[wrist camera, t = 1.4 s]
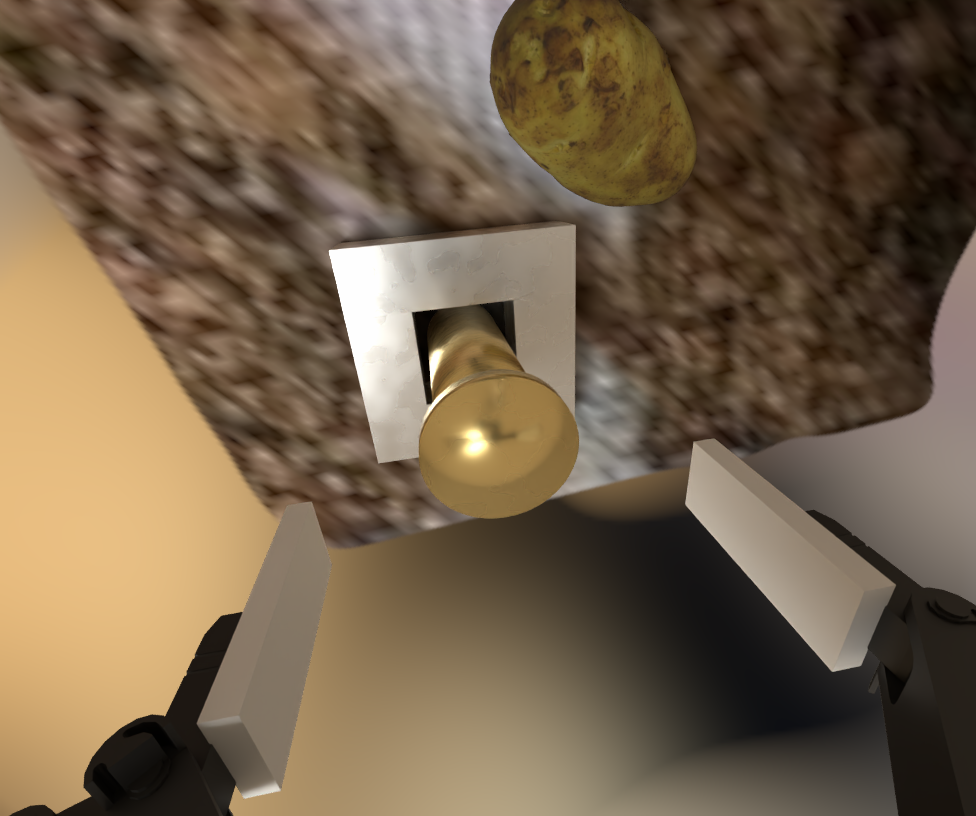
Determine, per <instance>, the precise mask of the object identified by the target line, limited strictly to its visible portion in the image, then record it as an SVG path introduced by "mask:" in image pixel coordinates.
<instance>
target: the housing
mask: <svg viewBox="0 0 976 816" xmlns="http://www.w3.org/2000/svg"><path fill="white" fill-rule="evenodd" d="M329 252H330V256H331V261H332V265H333V269H334V274H335V278H336V282H337V287H338V291H339V295H340V300H341V304H342V308H343V313H344V317H345V321H346V325H347V330H348V334H349V338H350V343H351V347H352V351H353V356H354V360H355V364H356V369H357V373H358V377H359V381H360V386H361V390H362V394H363V399H364V403H365V407H366V412H367V416H368V420H369V425H370V429H371V433H372V438H373V442H374V446H375V450H376V455H377V459H378V463H383V462H390V461H397V460H403V459H410V458H417V457H419V432H420V427H421V424H422V421H423V418H424V416H425V414H426V412H427V410H428V409H429V407H430V406H431V404H432V403H433V401H432V389H431V381H427V382H425V376H424V369H423V363H422V357H421V351H420V344H419V338H418V332H417V326H416V319H415V313H414V312H417V311H425V310H434V309H442V308H451V307H459V306H467V305H476V304H484V303H493V302H501V301H503V307H504V322H505V337H506V341H507V343H508V344H509V346H510V348H511V349H512V351H513V353H514V354H515V356H516V357H517V359H518V361H519V362H520V364H521V366H522V367H523V369H524V371H525V372H526V373H529V374H532V375H534V376H536V377H538V378H540V379H542V380H543V381H545V382H546V383H547V384H549V385H550V386H551V387H552V388H553V389H554V390H555V391H556V392H557V393H558V394H559V396H560V397H561V398H562V400H563V401H564V402H565V404H566V405H567V407H568V408H569V410H570V411H571V413H572V415H573V417H574V419H575V277H576V225H574V224H569V223H565V222H560V221H548V222H539V223H529V224H519V225H509V226H500V227H490V228H480V229H470V230H461V231H451V232H441V233H432V234H422V235H412V236H402V237H393V238H383V239H373V240H363V241H354V242H344V243H339V244H338V245H336V246H335V247H333V248H332V249H331V250H329Z"/></svg>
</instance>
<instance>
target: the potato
mask: <svg viewBox="0 0 976 816" xmlns="http://www.w3.org/2000/svg"><path fill="white" fill-rule="evenodd" d="M670 68H671V65H670V63H669V58H668V54H666V50H665V49H663V48H661V47H660V44H659V42H658V41H657V39H656V37H655V36H654V35H653V33H652V32H651V31H650V30H649V29H648V28H647V27H646V26H645V25H644V24H643V23H642V22H641V21H640V20H639V19H638V18H637V17H636V16H634V15H633V14H632V13H630V12H629V11H627V10H625V9H624V8H623V7H622V5H621V4H620V2H619V1H618V0H515V1H514V2H513V4H512V5H511V6H510V8H509V9H508V11H507V12H506V13H505V15H504V16H503V18H502V20H501V22H500V24H499V26H498V29H497V31H496V33H495V37H494V40H493V45H492V50H491V73H490V84H491V88H492V91H493V95H494V99H495V103H496V106H497V109H498V112H499V114H500V117H501V119H502V121H503V123H504V125H505V127H506V128H507V130H508V132H509V135H510V136H511V137H513V139H514V140H515V141H516V142H517V143H518V144H519V145H520V147H521V148H522V149H523V150H524V151H525V152H526V153H527V154H528V155H529V156H530V157H531V158H532V159H533V160H534V161H535V162H536V163H537V164H538V165H539V166H540V167H542V168H543V169H544V170H546V171H547V172H548V173H550V174H551V175H552V176H553V177H554V178H555V179H556V180H557V181H558V182H559V183H560V184H561V185H562V186H564V187H565V188H567V189H568V190H570V191H572V192H573V193H575V194H577V195H579V196H581V197H583V198H585V199H588V200H590V201H593V202H596V203H599V204H603V205H607V206H617V207H623V206H636V205H647V204H653V203H658V202H661V201H664V200H667V199H669V198H670V197H672V196H673V195H675V194H676V193H677V192H678V191H679V190H680V189H681V188H682V187H683V186H684V185H685V183H686V181H687V180H688V178H689V176H690V174H691V172H692V170H693V168H694V165H695V161H696V156H697V140H696V134H695V130H694V126H693V123H692V120H691V117H690V115H689V112H688V109H687V107H686V104H685V102H684V100H683V97H682V95H681V93H680V90H679V88H678V86H677V83H676V81H675V79H674V76H673V74H672V72H671V69H670Z"/></svg>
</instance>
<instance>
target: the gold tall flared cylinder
mask: <svg viewBox="0 0 976 816" xmlns="http://www.w3.org/2000/svg"><path fill="white" fill-rule="evenodd" d="M427 340H428V352H429V365H430V377H431V389H432V401H433V403H432V404H431V406H430V407H429V409H428V410H427V412H426V414H425V416H424V418H423V421H422V424H421V427H420V432H419V465H420V469H421V473H422V476H423V478H424V481H425V483H426V485H427V486H428V488H429V489H430V491H431V492H432V493H433V494H434V495H435V497H436V498H437V499H439V500H440V501H441V502H442V503H443V504H445V505H446V506H448V507H449V508H451V509H453V510H455V511H457V512H460V513H462V514H465V515H469V516H473V517H479V518H502V517H508V516H513V515H517V514H520V513H523V512H526V511H528V510H530V509H533V508H535V507H536V506H538V505H540V504H542V503H543V502H544V501H546V500H547V499H549V498H550V497H551V496H552V495H553V494H554V493H556V492H557V491H558V490H559V488H560V487H561V486H562V485H563V484H564V482H565V481H566V480H567V478H568V477H569V475H570V473H571V471H572V469H573V467H574V464H575V462H576V459H577V454H578V448H579V435H578V429H577V425H576V422H575V419H574V417H573V415H572V413H571V411H570V410H569V408H568V407H567V405H566V404H565V402H564V401H563V400H562V398H561V397H560V396H559V394H558V393H557V392H556V391H555V390H554V389H553V388H552V387H551V386H550V385H549V384H547V383H546V382H545V381H543V380H542V379H540V378H538V377H536V376H534V375H532V374H529V373H526V372H525V371H524V369H523V367H522V366H521V364H520V362H519V361H518V359H517V357H516V356H515V354H514V353H513V351H512V349H511V348H510V346H509V344H508V343H507V341H506V339H505V338H504V336H503V334H502V333H501V331H500V329H499V328H498V326H497V324H496V323H495V321H494V320H493V318H492V316H491V315H490V314H489V312H488V311H487V310H486V309H484V308H483V307H482V306H480V305H478V304H476V305H467V306H459V307H451V308H442V309H440V310H438V311H437V312H436V313H435V315H434V316H433V318H432V319H431V321H430V323H429V326H428V331H427Z"/></svg>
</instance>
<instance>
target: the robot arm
mask: <svg viewBox="0 0 976 816" xmlns="http://www.w3.org/2000/svg"><path fill="white" fill-rule="evenodd" d="M685 505H686V506H687V507H688V508H689V509H690V510H691V512H692V513H693V514H694V515H695V516H696V517H697V518H698V520H699V521H700V522H701V523H702V524H703V525H704V526H705V527H706V529H707V530H708V531H709V532H710V533H711V534H712V535H713V537H714V538H715V539H716V540H717V541H718V542H719V543H720V544H721V546H722V547H723V548H724V549H725V550H726V551H727V552H728V554H729V555H730V556H731V557H732V558H733V559H734V560H735V562H736V563H737V564H738V565H739V566H740V567H741V568H742V570H743V571H744V572H745V573H746V574H747V575H748V576H749V577H750V579H751V580H752V581H753V582H754V583H755V584H756V585H757V587H758V588H759V589H760V590H761V591H762V592H763V593H764V594H765V596H766V597H767V598H768V599H769V600H770V601H771V603H772V604H773V605H774V606H775V607H776V608H777V609H778V610H779V612H780V613H781V614H782V615H783V616H784V617H785V618H786V619H787V621H788V622H789V623H790V624H791V625H792V626H793V628H794V629H795V630H796V631H797V632H798V633H799V634H800V635H801V637H802V638H803V639H804V640H805V641H806V642H807V643H808V645H809V646H810V647H811V648H812V649H813V650H814V651H815V652H816V654H817V655H818V656H819V657H820V658H821V659H822V660H823V662H824V663H825V664H826V665H827V666H828V667H829V668H830V670H831V671H833V672H834V671H838V670H843V669H848V668H852V667H857V666H861V664H862V661H863V659H864V657H865V655H866V652H867V650H868V649H869V650H870V651H871V652H872V653H873V654H874V655H875V656H876V657H877V658H878V659H879V660H880V663H879V665H878V667H877V669H876V671H875V674H874V676H873V678H872V680H871V682H870V685H869V690H868V692H870V693H873V694H874V693H875V691H876V689H877V687H878V686H879V687H880V693H881V700H882V706H883V714H884V720H885V727H886V734H887V740H888V747H889V755H890V761H891V768H892V774H893V782H894V788H895V795H896V802H897V809H898V815H899V816H976V606H975V605H974V604H973V603H971V602H969V601H968V600H966V599H964V598H962V597H960V596H958V595H955V594H953V593H950V592H948V591H945V590H940V589H935V588H923V587H921V586H920V585H918V584H917V583H916V582H915V581H913V580H912V579H911V578H909V577H908V576H907V575H905V574H904V573H903V572H902V571H900V570H899V569H898V568H896V567H895V566H894V565H892V564H891V563H890V562H889V561H887V560H886V559H885V558H883V557H882V556H881V555H879V554H878V553H877V552H876V551H874V550H873V549H872V548H870V547H869V546H868V547H867V546H866V545H865V543H864V542H863V541H861V540H860V539H859V538H857V537H856V536H852V534H851V532H849V531H848V530H847V529H846V528H844V527H843V526H842V525H840V524H839V523H838V522H836V521H835V520H833V519H831V518H829V517H827V516H825V515H823V514H821V513H819V512H817V511H815V510H810V511H804V510H802V509H801V508H800V507H798V506H797V505H796V504H795V503H794V502H792V501H791V500H790V499H789V498H787V497H786V496H785V495H784V494H782V493H781V492H780V491H779V490H777V489H776V488H775V487H773V485H771V484H770V483H769V482H768V481H766V480H765V479H764V478H763V477H761V476H760V475H759V474H758V473H756V472H755V471H754V470H753V469H751V468H750V467H749V466H748V465H746V464H745V463H744V462H743V461H742V460H740V459H739V458H738V457H737V456H735V455H734V454H733V453H732V452H730V451H729V450H728V449H727V448H725V447H724V446H723V445H722V444H720V443H719V442H718V441H717V440H715V439H708V440H702V441H696V442H694V445H693V452H692V459H691V467H690V474H689V482H688V489H687V496H686V504H685ZM331 566H332V564H331V561H330V557H329V554H328V551H327V548H326V545H325V542H324V539H323V536H322V532H321V529H320V526H319V523H318V520H317V517H316V514H315V511H314V508H313V504H312V502H306V503H299V504H293V505H287V507H286V510H285V512H284V514H283V517H282V519H281V522H280V524H279V526H278V529H277V531H276V534H275V536H274V538H273V541H272V543H271V546H270V548H269V551H268V553H267V555H266V558H265V560H264V563H263V565H262V567H261V570H260V572H259V575H258V577H257V580H256V582H255V584H254V587H253V589H252V591H251V594H250V596H249V599H248V601H247V603H246V606H245V608H244V611H243V612H240V613H234V614H228V615H223V616H221V617H220V618H219V619H218V620H217V621H216V622H215V623H214V624H213V626H212V627H211V628H210V629H209V630H208V631H207V633H206V634H205V635H204V637H203V639H202V641H201V643H200V645H199V647H198V649H197V651H196V654H195V658H194V659H193V660H192V662H191V664H190V666H189V668H188V670H187V675H186V676H184V678H183V680H182V682H181V684H180V687H179V689H178V691H177V693H176V695H175V697H174V699H173V701H172V703H171V705H170V708H169V710H168V712H167V714H166V716H165V717H164V716H162V715H148V716H145V717H142V718H138V719H136V720H134V721H133V722H131V723H129V724H127V725H125V726H124V727H122V728H120V729H119V730H118V731H117V732H116V733H115V734H114V735H112V736H111V737H110V738H109V739H107V740H106V741H105V742H104V744H103V745H102V746H101V747H100V748H99V750H98V751H97V752H96V753H95V755H94V756H93V757H92V759H91V761H90V763H89V765H88V767H87V770H86V772H85V775H84V788H85V789H86V791H88V793H89V794H90V795H91V797H89V798H87V799H85V800H83V801H81V802H79V803H77V804H75V805H73V806H72V807H69V808H67V809H65V810H64V811H62V812H60V813H58V814H55V813H54V812H53V811H52V810H51V809H49V808H48V807H47V806H45V805H35V806H29V807H27V808H24V809H22V810H20V811H17V812H15V813H13V814H12V815H10V816H233V814H232V812H231V811H230V809H229V805H230V801H231V798H232V795H233V792H234V788H235V785H236V786H237V788H238V790H239V791H240V793H241V794H242V796H243V798H244V799H245V798H249V797H254V796H258V795H263V794H267V793H272V792H277V791H281V788H282V783H283V779H284V774H285V770H286V765H287V761H288V757H289V752H290V748H291V743H292V738H293V734H294V730H295V726H296V721H297V717H298V712H299V708H300V704H301V699H302V695H303V690H304V686H305V681H306V677H307V673H308V668H309V663H310V659H311V655H312V651H313V646H314V641H315V637H316V633H317V628H318V624H319V620H320V615H321V611H322V606H323V602H324V597H325V593H326V589H327V584H328V580H329V575H330V571H331Z"/></svg>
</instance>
